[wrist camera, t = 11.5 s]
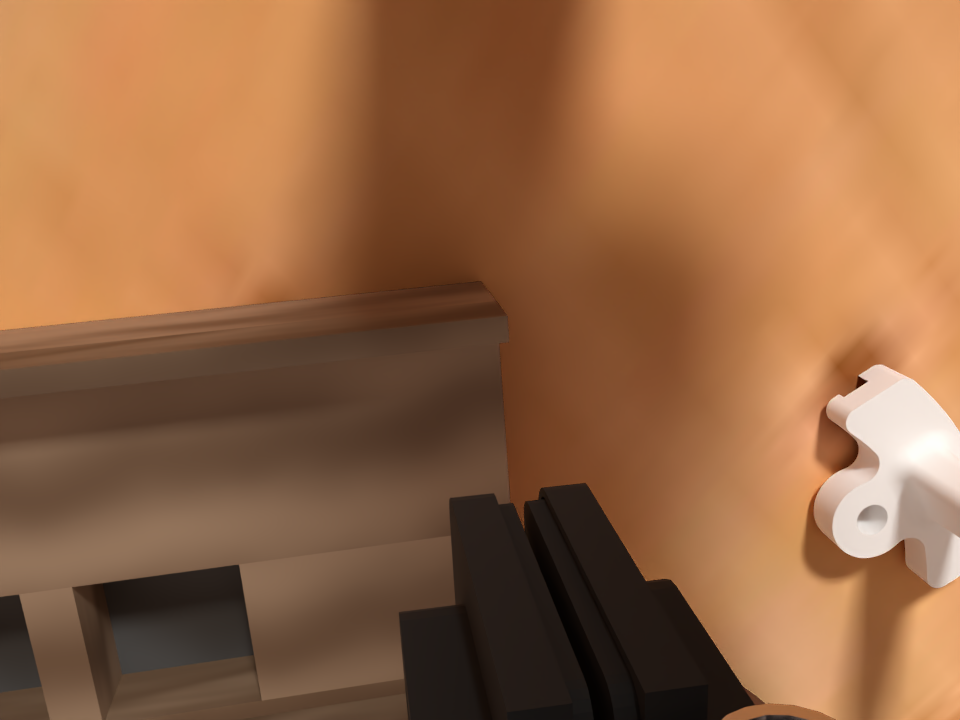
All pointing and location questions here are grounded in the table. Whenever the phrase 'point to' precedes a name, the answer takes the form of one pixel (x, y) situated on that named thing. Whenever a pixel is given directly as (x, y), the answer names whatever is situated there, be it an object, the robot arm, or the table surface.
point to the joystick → (896, 477)
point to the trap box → (238, 502)
